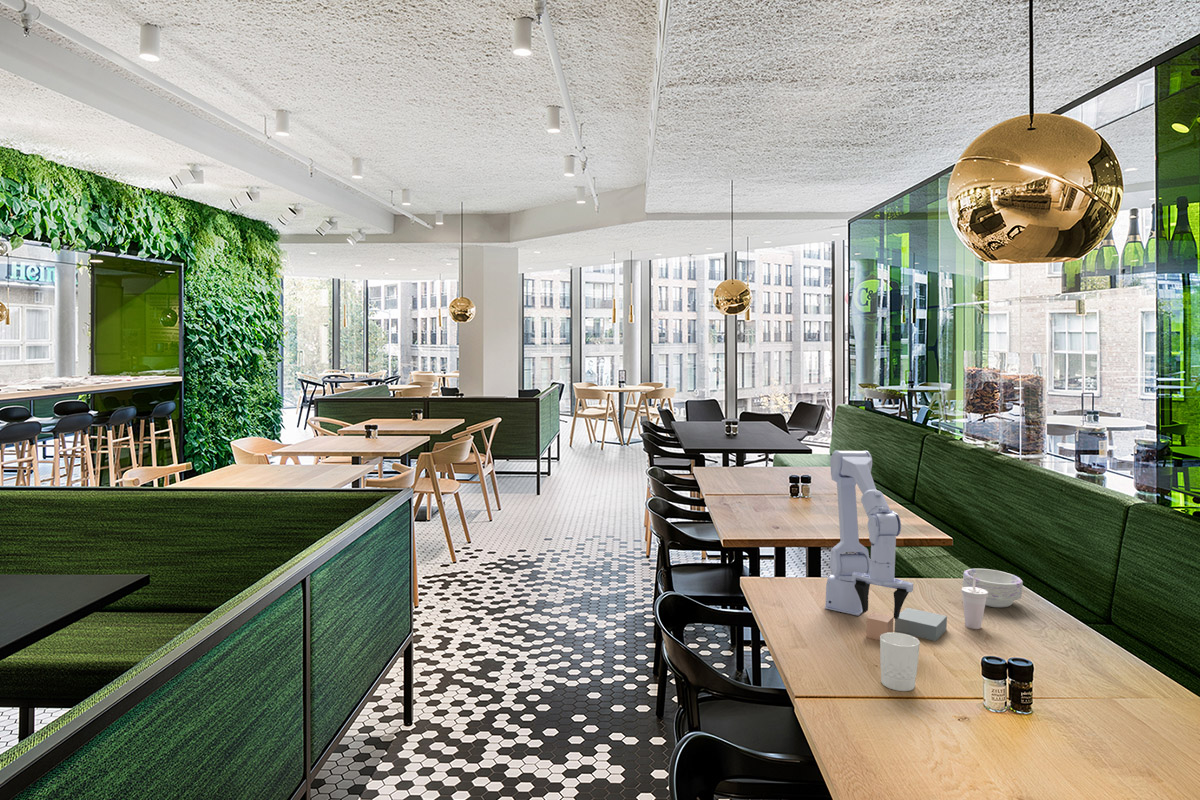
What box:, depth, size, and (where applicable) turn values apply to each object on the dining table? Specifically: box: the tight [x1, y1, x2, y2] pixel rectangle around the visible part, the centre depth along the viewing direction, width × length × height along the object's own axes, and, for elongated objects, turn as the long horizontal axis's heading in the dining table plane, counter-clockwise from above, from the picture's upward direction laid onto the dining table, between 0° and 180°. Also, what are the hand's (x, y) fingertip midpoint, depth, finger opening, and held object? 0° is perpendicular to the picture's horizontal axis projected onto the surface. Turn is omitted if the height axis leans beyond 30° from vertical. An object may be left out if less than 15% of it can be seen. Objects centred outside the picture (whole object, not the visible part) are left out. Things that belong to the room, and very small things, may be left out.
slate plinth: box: [894, 607, 948, 642], centre depth 196 cm, size 10×10×4 cm
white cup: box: [879, 632, 921, 692], centre depth 163 cm, size 8×8×10 cm
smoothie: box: [960, 573, 988, 630], centre depth 199 cm, size 6×6×14 cm
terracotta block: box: [865, 612, 894, 641], centre depth 191 cm, size 5×5×5 cm
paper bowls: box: [962, 568, 1024, 608], centre depth 219 cm, size 15×15×8 cm
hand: (880, 614), depth 191 cm, fingers open, 7 cm apart
